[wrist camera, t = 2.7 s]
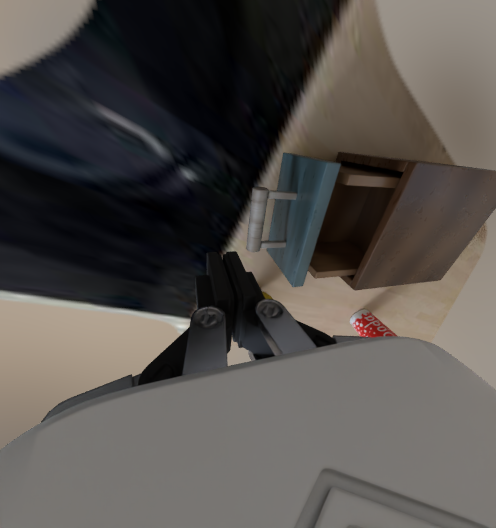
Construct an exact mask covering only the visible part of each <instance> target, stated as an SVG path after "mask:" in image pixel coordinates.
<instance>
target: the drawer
mask: <svg viewBox="0 0 496 528" xmlns="http://www.w3.org/2000/svg"><path fill="white" fill-rule="evenodd" d="M402 175H403V174H400V173H395V172H390V171H385V170H380V169H371V168H360V167H349V166H341V163H337V162H332V161H327V160H322V159H317V158H313V157H308V156H303V155H298V154H293V153H283V158H282V164H281V169H280V175H279V181H278V187H277V191H269V189H267V188H264V187H253V191H252V200H251V210H250V219H249V228H248V238H247V247H246V248H247V250H248V251H250V252H258V251H259V250H260V248H267V251H268V253H269V254H270V256H271V257H272V258H273V260H274V261H275V263H276V264H277V265H278V267H279V268H280V270H281V271H282V273H283V274H284V275H285V277H286V278H287V280H288V281H289V282H290V284H291V285H292V287H298V286H303V284H304V281H305V278H306V274H307V271H309V272H310V273H311V275H312V276H313V277H314V278H325V277H336V276H347V275H355V274H356V272H357V270H358V268H359V266H360V264H361V261H362V259H363V257H364V255H365V253H366V251H367V249H368V247H369V244H370V242H371V240H372V238H373V236H374V234H375V232H376V230H377V228H378V225H379V223H380V221H381V219H382V217H383V215H384V213H385V211H386V208H387V206H388V204H389V202H390V200H391V198H392V196H393V194H394V191H395V189H396V187H397V185H398V183H399V181H400V179H401V177H402ZM267 198H268V199H275V205H274V211H273V217H272V222H271V228H270V234H269V240H268V241H261V239H262V232H263V225H264V219H265V212H266V205H267Z"/></svg>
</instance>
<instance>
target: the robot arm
mask: <svg viewBox="0 0 496 528" xmlns="http://www.w3.org/2000/svg"><path fill="white" fill-rule="evenodd" d="M195 284H196V300H197V310H196V311H195V312H194V313H193V314H192V317H191V322H190V327H189V328H188V329H187V330H186V331H185V332H184V333H183V334H182V335H180V336H179V337H178V338H177V339H176V340H175V341H174V342H173V343H172V344H171V345H170V346H169V347H168V348H166V349H165V350H164V351H163V352H162V353H161V354H160V355H159V356H158V357H157V358H156V359H154V360H153V361H152V362H151V363H150V364H149V365H148V366H147V367H146V368H145V369H144V371H143V372H142V373H141V374H139V375H136V376H134V377H132V375H128V376H126V377H123V378H121V379H118V380H115V381H113V382H110V383H108V384H105V385H103V386H100V387H98V388H95V389H92V390H90V391H87V392H85V393H82V394H79V395H77V396H74V397H72V398H69V399H67V400H65V401H63V402H61V403H60V404H58V405H57V406H56V407H54V408H53V409H52V410H51V411H49V413H48V414H47V415H46V417H45V418H44V419H43V420H42V421H41V423H40V424H38V425H36V426H35V427H33V428H31V429H30V430H28V431H26V432H25V433H23V434H22V435H20V436H19V437H17V438H16V439H14V440H13V441H12V442H10V443H9V444H7V445H6V446H5V447H4V448H2V449H1V450H0V528H496V390H495V389H494V388H493V387H491V386H490V385H489V384H488V383H487V382H486V381H484V380H483V379H482V378H481V377H479V376H478V375H477V374H476V373H474V372H473V371H472V370H471V369H469V368H468V367H467V366H465V365H464V364H463V363H461V362H460V361H459V360H458V359H456V358H455V357H453V356H452V355H451V354H449V353H448V352H446V351H445V350H443V349H442V348H440V347H439V346H437V345H435V344H432V343H430V342H427V341H423V340H420V339H415V338H409V337H400V336H383V337H373V338H372V337H360V336H335V335H333V337H332V338H331V337H330V336H329V335H327V334H325V333H323V332H321V331H319V330H317V329H314V328H312V327H310V326H308V325H306V324H303V323H301V322H299V321H297V320H295V319H294V318H293V317H292V316H291V314H290V313H289V312H288V311H287V309H286V308H285V307H284V306H283V305H282V304H281V303H280V302H278V301H276V300H273V299H265V297H264V295H263V293H262V291H261V289H260V287H259V285H258V283H257V281H256V279H255V277H254V275H253V274H252V272H246V271H245V269H244V267H243V265H242V262H241V260H240V258H239V256H238V254H237V252H236V251H235V252H226V254H223V260H222V257H221V255H218V254H217V252H213V253H207V275H203V276H195ZM232 337H233V341H234V342H237V343H238V347H239V348H242V347H243V348H245V349H247V350H249V352H248V353H249V356H250V359H251V361H250V362H245V363H241V364H236V365H231V366H227V353H228V352H229V351H230V347H231V339H232Z"/></svg>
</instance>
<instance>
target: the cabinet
mask: <svg viewBox="0 0 496 528" xmlns="http://www.w3.org/2000/svg"><path fill="white" fill-rule="evenodd" d="M336 162H337V163H341V166H349V167H360V168H371V169H380V170H385V171H390V172H395V173H400V174H403V175H402V177H401V179H400V181H399V183H398V185H397V187H396V189H395V191H394V194H393V196H392V198H391V200H390V202H389V204H388V206H387V208H386V211H385V213H384V215H383V217H382V219H381V221H380V223H379V225H378V228H377V230H376V232H375V234H374V236H373V238H372V240H371V242H370V244H369V247H368V249H367V251H366V253H365V255H364V257H363V259H362V261H361V264H360V266H359V268H358V270H357V272H356V274H355V275H347V276H339V277H341V278H342V279H343V280H344V281H345V282H346V283H347V284H348V285H349V286H350V287H351V288H352V289H353V290H362V289H371V288H379V287H387V286H396V285H404V284H413V283H421V282H430V281H438V280H441V279H442V278H443V276H444V275H445V274H446V272H447V271H448V270H449V268H450V267H451V266H452V265H453V263H454V262H455V261H456V259H457V258H458V257H459V255H460V254H461V253H462V251H463V250H464V249H465V248H466V246H467V245H468V244H469V242H470V241H471V240H472V238H473V237H474V236H475V234H476V233H477V232H478V230H479V229H480V228H481V227H482V225H483V224H484V223H485V221H486V220H487V219H488V217H489V216H490V215H491V213H492V212H493V211H494V210H495V208H496V171H495V170H487V169H479V168H472V167H463V166H456V165H448V164H440V163H432V162H424V161H415V160H407V159H398V158H389V157H380V156H371V155H363V154H354V153H345V152H338V156H337V159H336Z"/></svg>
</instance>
